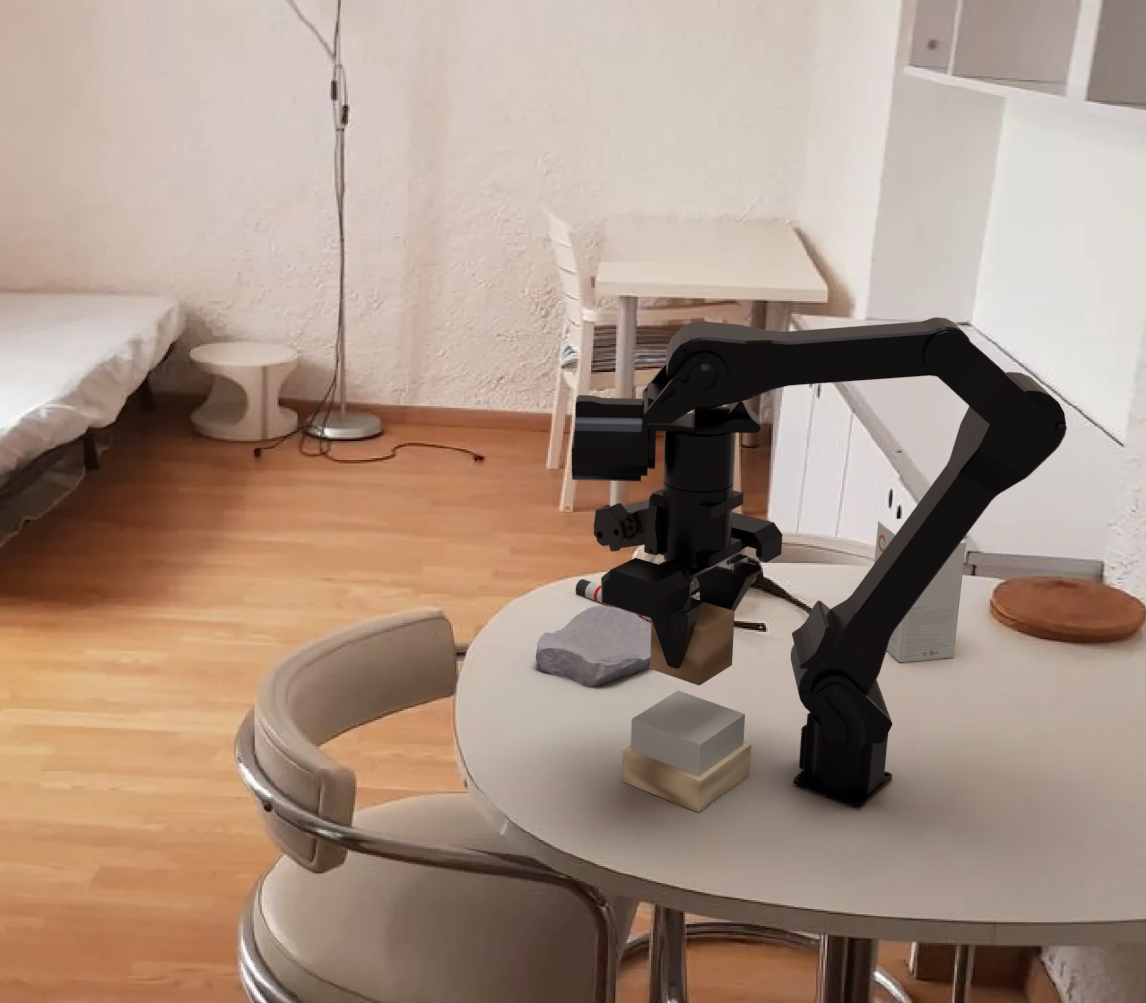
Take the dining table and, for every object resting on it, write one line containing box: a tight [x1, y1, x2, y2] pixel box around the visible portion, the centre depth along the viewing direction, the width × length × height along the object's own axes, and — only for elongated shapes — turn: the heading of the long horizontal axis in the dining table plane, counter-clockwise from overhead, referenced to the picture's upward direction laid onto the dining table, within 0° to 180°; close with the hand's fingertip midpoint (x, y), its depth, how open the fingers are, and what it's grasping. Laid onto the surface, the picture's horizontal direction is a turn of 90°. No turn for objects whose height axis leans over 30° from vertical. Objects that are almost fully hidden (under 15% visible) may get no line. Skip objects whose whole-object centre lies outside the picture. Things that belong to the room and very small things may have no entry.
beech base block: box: [621, 741, 752, 813], centre depth 121 cm, size 8×8×3 cm
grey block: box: [630, 690, 746, 777], centre depth 120 cm, size 7×7×3 cm
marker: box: [575, 578, 651, 622], centre depth 156 cm, size 15×2×2 cm, turn 47°
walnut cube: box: [649, 602, 736, 686], centre depth 117 cm, size 5×5×5 cm
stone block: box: [535, 605, 651, 687], centre depth 143 cm, size 12×5×10 cm
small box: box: [873, 517, 967, 663], centre depth 146 cm, size 8×6×13 cm
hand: (691, 656), depth 118 cm, fingers closed on walnut cube, 5 cm apart
